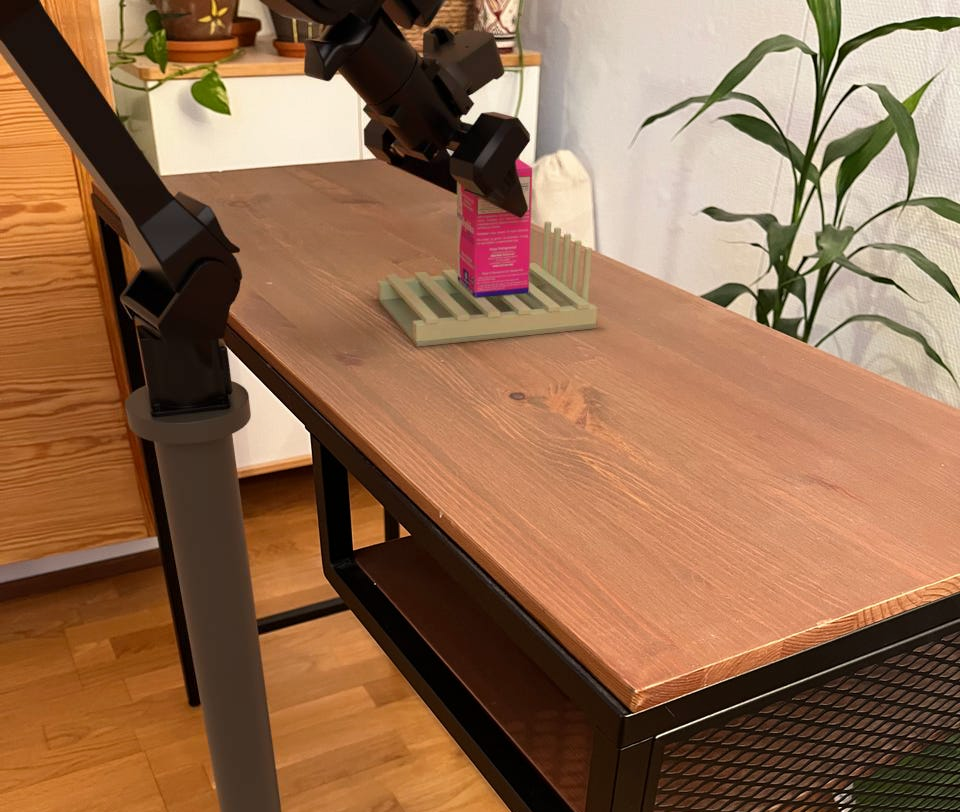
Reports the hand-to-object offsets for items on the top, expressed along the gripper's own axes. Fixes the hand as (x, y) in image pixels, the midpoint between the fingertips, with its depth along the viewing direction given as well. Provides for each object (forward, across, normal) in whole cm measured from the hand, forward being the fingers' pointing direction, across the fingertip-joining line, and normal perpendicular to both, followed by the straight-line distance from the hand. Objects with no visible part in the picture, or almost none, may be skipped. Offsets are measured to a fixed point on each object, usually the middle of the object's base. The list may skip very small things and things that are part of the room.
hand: (494, 202), depth 96 cm
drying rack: (+7, 0, +8) cm, 10 cm away
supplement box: (+6, 0, +6) cm, 8 cm away
